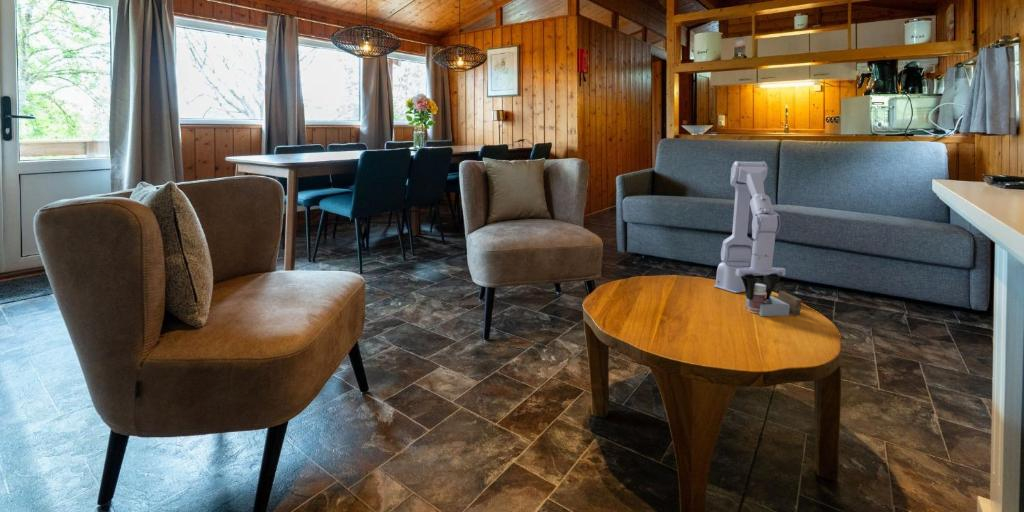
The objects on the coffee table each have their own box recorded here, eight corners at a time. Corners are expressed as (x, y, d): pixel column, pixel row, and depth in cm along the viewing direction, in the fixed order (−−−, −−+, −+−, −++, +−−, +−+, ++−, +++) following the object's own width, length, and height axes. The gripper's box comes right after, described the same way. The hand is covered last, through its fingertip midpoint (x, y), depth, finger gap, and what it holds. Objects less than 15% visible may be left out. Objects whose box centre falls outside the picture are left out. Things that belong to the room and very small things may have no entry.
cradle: (761, 316, 157) (762, 305, 156) (745, 306, 166) (746, 296, 165) (788, 315, 158) (789, 305, 157) (771, 306, 167) (772, 296, 166)
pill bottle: (766, 314, 159) (769, 287, 157) (749, 313, 160) (752, 286, 158) (762, 309, 163) (765, 283, 162) (746, 308, 164) (748, 282, 163)
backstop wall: (794, 316, 158) (796, 299, 157) (776, 306, 166) (778, 291, 165) (799, 315, 158) (801, 299, 157) (781, 306, 167) (783, 291, 166)
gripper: (746, 257, 153) (741, 303, 156) (793, 256, 155) (788, 301, 158) (733, 252, 160) (729, 296, 163) (779, 251, 161) (774, 295, 164)
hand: (757, 298), depth 161 cm, fingers closed on pill bottle, 5 cm apart
